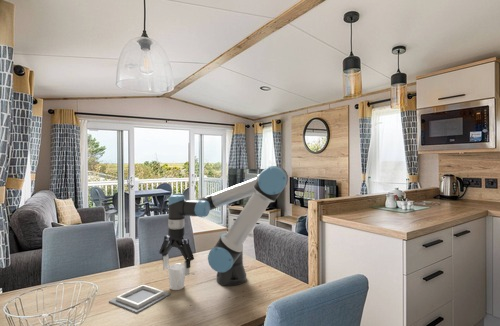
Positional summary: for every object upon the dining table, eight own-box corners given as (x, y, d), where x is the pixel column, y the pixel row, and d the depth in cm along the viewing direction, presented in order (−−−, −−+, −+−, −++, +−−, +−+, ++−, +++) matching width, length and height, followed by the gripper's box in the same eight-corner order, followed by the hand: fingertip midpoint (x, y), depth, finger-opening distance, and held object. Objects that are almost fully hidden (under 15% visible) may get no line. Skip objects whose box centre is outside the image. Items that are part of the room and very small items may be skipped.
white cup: (170, 292, 129) (170, 270, 129) (166, 285, 136) (166, 265, 136) (187, 288, 132) (187, 267, 132) (183, 282, 139) (183, 262, 139)
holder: (170, 294, 127) (170, 290, 127) (136, 313, 111) (136, 308, 111) (143, 286, 136) (143, 281, 136) (108, 302, 120) (108, 297, 120)
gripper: (152, 225, 137) (151, 268, 137) (190, 232, 125) (190, 280, 125) (163, 222, 143) (163, 264, 144) (201, 229, 131) (201, 274, 131)
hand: (176, 271), depth 134 cm, fingers open, 13 cm apart
